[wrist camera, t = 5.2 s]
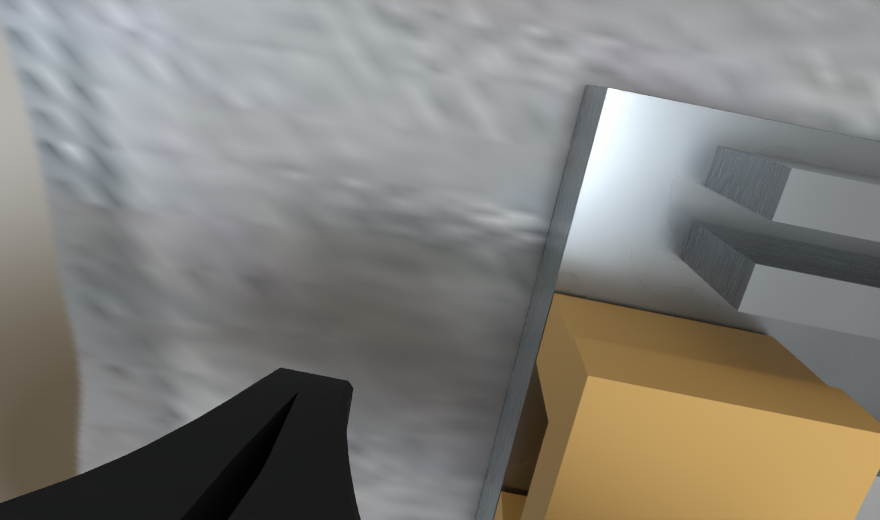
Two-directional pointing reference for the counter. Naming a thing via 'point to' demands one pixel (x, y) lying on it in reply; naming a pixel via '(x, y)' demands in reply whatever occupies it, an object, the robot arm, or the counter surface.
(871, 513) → the strap
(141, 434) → the counter surface
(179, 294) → the counter surface
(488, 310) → the counter surface
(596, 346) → the clip
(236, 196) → the counter surface
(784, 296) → the grey fixture base plate
